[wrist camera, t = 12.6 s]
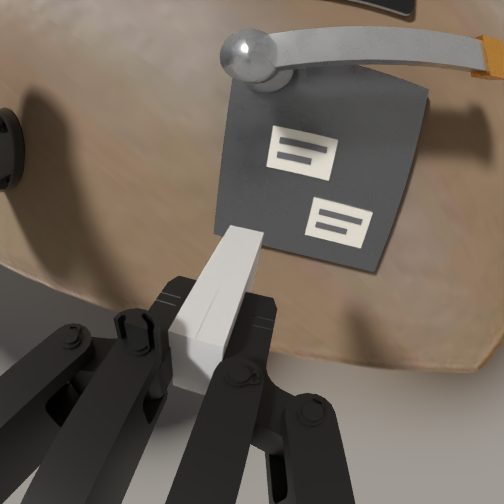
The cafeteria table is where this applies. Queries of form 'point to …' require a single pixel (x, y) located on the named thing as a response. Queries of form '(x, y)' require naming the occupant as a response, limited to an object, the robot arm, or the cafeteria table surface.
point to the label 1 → (301, 152)
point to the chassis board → (344, 165)
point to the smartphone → (391, 5)
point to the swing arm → (357, 51)
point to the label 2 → (338, 222)
